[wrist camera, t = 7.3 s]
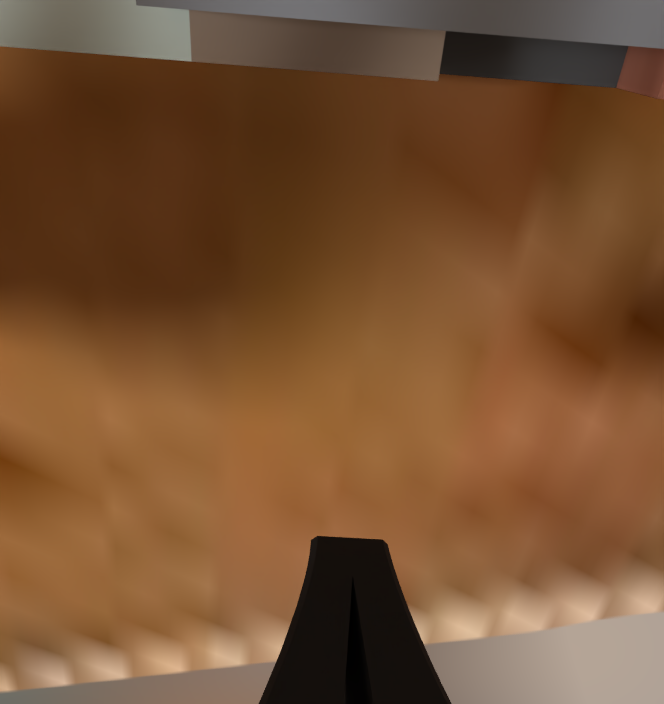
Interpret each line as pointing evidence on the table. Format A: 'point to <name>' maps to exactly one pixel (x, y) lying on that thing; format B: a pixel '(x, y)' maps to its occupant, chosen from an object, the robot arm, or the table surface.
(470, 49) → the tunnel deck
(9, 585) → the table surface
